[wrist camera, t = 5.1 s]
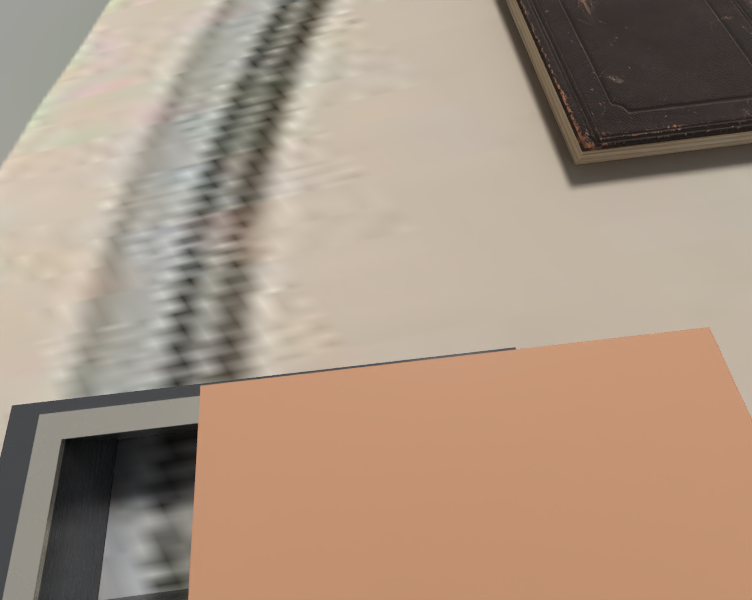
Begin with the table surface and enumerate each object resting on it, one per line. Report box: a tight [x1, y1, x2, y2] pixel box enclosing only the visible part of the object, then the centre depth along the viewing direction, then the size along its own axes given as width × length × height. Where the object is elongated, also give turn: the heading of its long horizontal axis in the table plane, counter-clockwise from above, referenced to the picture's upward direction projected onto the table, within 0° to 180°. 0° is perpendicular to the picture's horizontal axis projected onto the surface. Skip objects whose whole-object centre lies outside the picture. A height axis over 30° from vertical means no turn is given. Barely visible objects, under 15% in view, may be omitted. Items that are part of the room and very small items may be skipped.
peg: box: [188, 327, 752, 600], centre depth 8 cm, size 4×4×13 cm
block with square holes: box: [0, 348, 516, 600], centre depth 15 cm, size 20×9×3 cm, turn 97°
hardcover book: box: [506, 0, 752, 165], centre depth 26 cm, size 16×23×2 cm
